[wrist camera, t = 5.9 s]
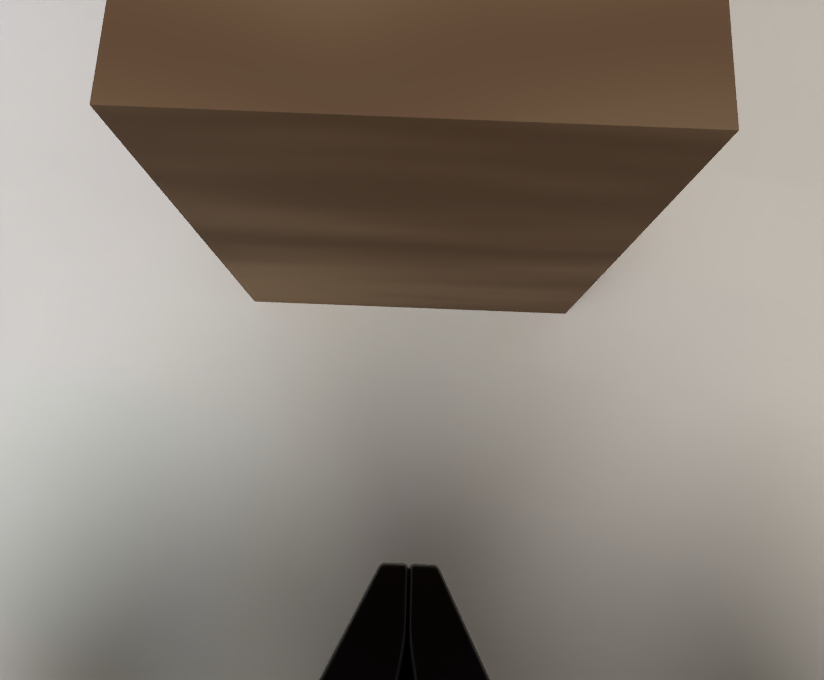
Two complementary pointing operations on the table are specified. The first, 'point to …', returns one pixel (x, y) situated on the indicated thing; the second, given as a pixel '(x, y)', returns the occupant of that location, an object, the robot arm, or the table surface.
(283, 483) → the table surface
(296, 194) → the walnut block
